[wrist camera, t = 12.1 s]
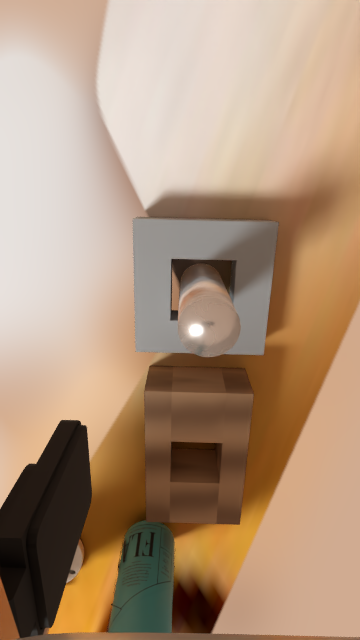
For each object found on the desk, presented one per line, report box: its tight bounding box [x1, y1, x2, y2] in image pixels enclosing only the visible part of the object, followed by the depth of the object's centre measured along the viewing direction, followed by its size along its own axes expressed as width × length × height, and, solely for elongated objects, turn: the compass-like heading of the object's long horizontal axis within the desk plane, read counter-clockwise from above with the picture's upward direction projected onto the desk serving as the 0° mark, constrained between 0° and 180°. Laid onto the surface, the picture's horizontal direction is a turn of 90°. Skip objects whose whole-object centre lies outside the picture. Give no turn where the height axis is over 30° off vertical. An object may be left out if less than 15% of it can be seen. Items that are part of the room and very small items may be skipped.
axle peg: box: [178, 263, 241, 357], centre depth 27 cm, size 4×4×12 cm
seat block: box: [133, 217, 279, 355], centre depth 32 cm, size 12×12×3 cm
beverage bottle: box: [106, 520, 175, 633], centre depth 34 cm, size 6×7×20 cm
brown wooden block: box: [144, 366, 254, 525], centre depth 36 cm, size 16×10×5 cm, turn 179°
